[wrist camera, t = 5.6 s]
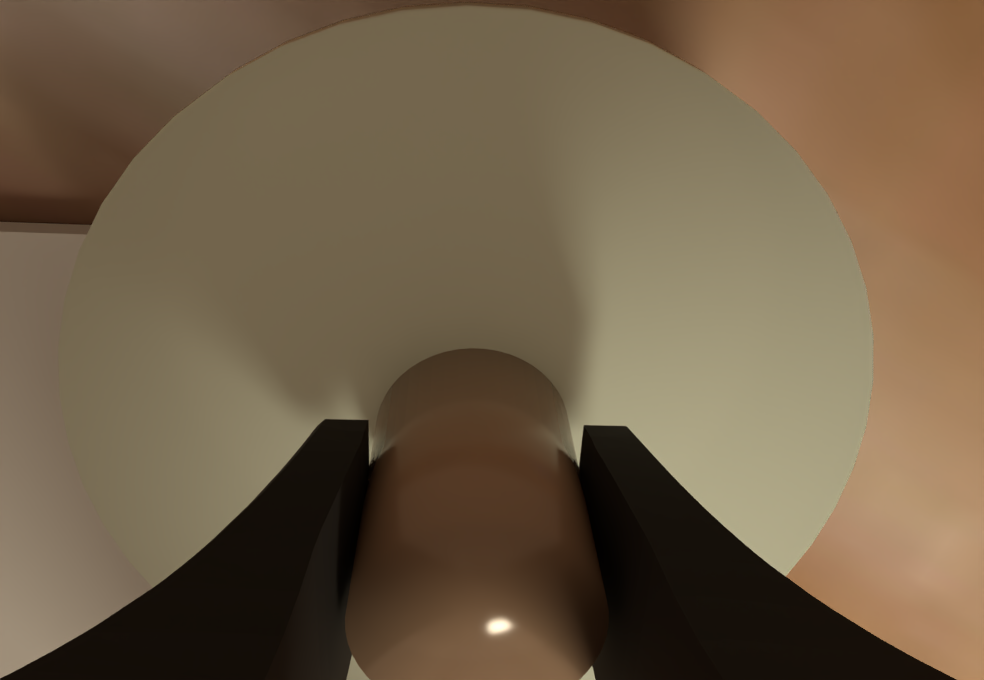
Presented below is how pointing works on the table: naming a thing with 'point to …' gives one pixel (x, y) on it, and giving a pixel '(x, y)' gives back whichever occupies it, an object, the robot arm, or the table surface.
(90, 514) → the mat
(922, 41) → the table surface
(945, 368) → the table surface
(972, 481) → the table surface
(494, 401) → the lid
